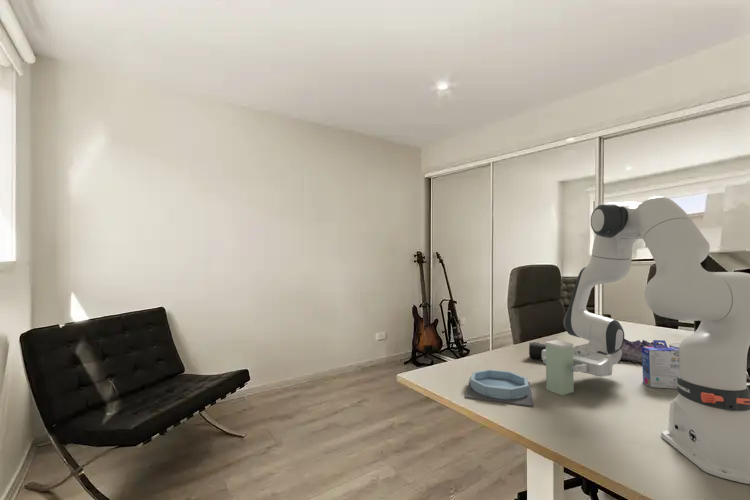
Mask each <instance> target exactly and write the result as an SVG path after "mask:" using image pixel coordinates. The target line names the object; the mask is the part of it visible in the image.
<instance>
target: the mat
mask: <svg viewBox="0 0 750 500" xmlns="http://www.w3.org/2000/svg"><path fill="white" fill-rule="evenodd" d="M528 385H529V394H528V395H527V396H526V397H524V398H521V399H515V400H502V399H494V398H490V397H486V396H483V395H480V394H478V393H476V392H475V391H474V390H473V389H472V388H471V378H470V379H469V383H468V386H467V390H466V392H465V394H464V395H465V396H464V398H465V399H470V400H478V401H485V402H493V403H499V404H506V405H507V404H508V405H514V406H522V407H531V408H534V407H535V405H534V399H533V392H532V387H531V386H532V385H531V381H528Z"/></svg>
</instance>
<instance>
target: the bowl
mask: <svg viewBox="0 0 750 500" xmlns="http://www.w3.org/2000/svg"><path fill="white" fill-rule="evenodd" d="M471 373H472V375H470V376H471V377H470V379H471V388H472V389H473V390H474V391H475V392H476V393H478V394H480V395H483V396H486V397H490V398H494V399H502V400H515V399H521V398H524V397H526V396H527V395H528V394H529V385H528V382H529V379H528V377H525V376H523V375H520V374H518V373H515V372H513V371H508V370H498V369H497V370H496V369H484V370H477V371H473V372H471Z"/></svg>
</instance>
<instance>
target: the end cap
mask: <svg viewBox="0 0 750 500" xmlns="http://www.w3.org/2000/svg"><path fill="white" fill-rule="evenodd" d="M544 349H546V345H545V343H540V342H536V341H534V342H529V348H528V351H529V352H528V354H529V358H530V359H531V360H535V361H543V360H542V350H544Z"/></svg>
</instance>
